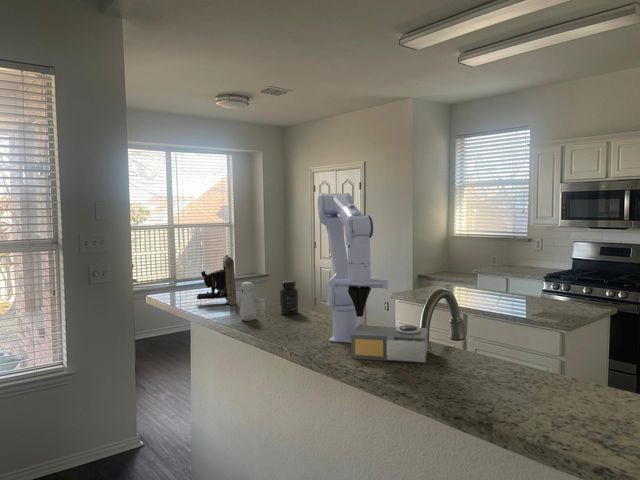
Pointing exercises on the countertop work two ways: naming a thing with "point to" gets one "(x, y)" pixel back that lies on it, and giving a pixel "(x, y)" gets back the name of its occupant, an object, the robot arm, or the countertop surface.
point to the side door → (404, 348)
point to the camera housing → (382, 340)
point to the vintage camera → (221, 282)
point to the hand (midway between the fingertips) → (360, 315)
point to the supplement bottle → (289, 298)
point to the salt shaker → (247, 302)
